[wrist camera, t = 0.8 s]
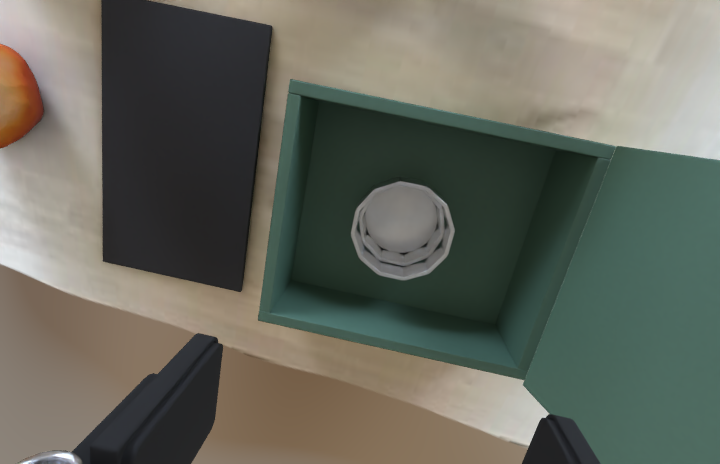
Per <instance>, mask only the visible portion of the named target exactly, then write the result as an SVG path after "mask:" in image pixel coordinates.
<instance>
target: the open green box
mask: <svg viewBox="0 0 720 464" xmlns="http://www.w3.org/2000/svg"><path fill="white" fill-rule="evenodd" d="M288 92H289V94H288V98H287V106H286V113H285V121H284V128H283V136H282V143H281V151H280V158H279V166H278V173H277V181H276V188H275V196H274V203H273V211H272V218H271V226H270V234H269V241H268V249H267V256H266V264H265V271H264V279H263V286H262V294H261V301H260V309H259V310H260V311H259V315H258V320H259V321H263V322H268V323H272V324H276V325H281V326H285V327H290V328H294V329H299V330H303V331H308V332H312V333H317V334H321V335H326V336H330V337H334V338H339V339H343V340H348V341H352V342H357V343H361V344H366V345H370V346H375V347H379V348H383V349H388V350H392V351H397V352H401V353H406V354H410V355H415V356H419V357H424V358H428V359H432V360H437V361H441V362H446V363H450V364H455V365H459V366H464V367H468V368H473V369H477V370H482V371H486V372H490V373H495V374H499V375H504V376H508V377H513V378H517V379H522V380H525V378H526V375H527V373H528V370H529V368H530V365H531V363H532V360H533V357H534V355H535V352H536V350H537V347H538V345H539V342H540V340H541V337H542V335H543V332H544V329H545V327H546V324H547V322H548V319H549V317H550V314H551V312H552V309H553V307H554V304H555V302H556V299H557V296H558V294H559V291H560V289H561V286H562V284H563V281H564V279H565V276H566V274H567V271H568V268H569V266H570V263H571V261H572V258H573V256H574V253H575V251H576V248H577V246H578V243H579V240H580V238H581V235H582V233H583V230H584V228H585V225H586V223H587V220H588V218H589V215H590V212H591V210H592V207H593V205H594V202H595V200H596V197H597V195H598V192H599V190H600V187H601V184H602V182H603V179H604V177H605V174H606V172H607V169H608V167H609V164H610V162H611V160H610V159H611V158H612V156H613V153H614V151H615V148H616V146H612V145H608V144H603V143H598V142H593V141H588V140H583V139H578V138H574V137H569V136H564V135H559V134H554V133H549V132H545V131H540V130H535V129H530V128H525V127H520V126H515V125H511V124H506V123H501V122H496V121H491V120H486V119H482V118H477V117H472V116H467V115H462V114H457V113H452V112H448V111H443V110H438V109H433V108H428V107H423V106H419V105H414V104H409V103H404V102H399V101H394V100H389V99H385V98H380V97H375V96H370V95H365V94H360V93H356V92H351V91H346V90H341V89H336V88H331V87H326V86H322V85H317V84H312V83H307V82H302V81H297V80H293V79H290V83H289V91H288ZM400 176H401V177H406V178H411V179H416V180H420V181H424V182H426V183H427V184H428V185H429V186H430V187H431V188H433V189H434V190H435V191H436V192H437V193H438V194H439V195H440V196H441V197H442V198H443V199H444V200H445V202H446V203H447V205H448V207H449V211H450V214H451V218H452V221H453V225H454V228H455V230H454V231H455V233H454V236H453V240H452V243H451V247H450V250H449V254H448V255H447V257H446V258H445V259H444V260H443V261H442V262H441V263H440V264H439V265H438V266H437V267H436V268H435V269H434V270H433V271H432V272H431V273H429V274H427V275H423V276H419V277H416V278H412V279H409V280H405V281H404V280H403V281H402V280H398V279H393V278H389V277H384V276H380V275H378V274H376V273H375V272H374V271H373V270H372V269H371V268H369V267H368V266H367V265H366V264H365V263H364V262H362V261H361V260H360V258H359V257H358V254H357V252H356V249H355V246H354V243H353V240H352V238H351V230H352V225H353V220H354V215H355V210H356V208H357V205H358V203H359V201H360V200H361V199H362V198H363V197H364V196H365V195H366V194H367V193H368V192H369V190H370V189H371V188H372V187H373V186H374V185H376V184H377V183H380V182H383V181H386V180H389V179H392V178H395V177H400ZM445 224H446V221H445V217H444V225H445ZM358 228H359V231H360V226H359V223H358ZM367 232H368V231H367ZM440 242H441V241H440ZM439 244H440V243H439ZM439 244H438V245H439ZM365 247H366V246H365ZM366 248H367V247H366Z"/></svg>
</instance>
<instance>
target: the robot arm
mask: <svg viewBox="0 0 720 464" xmlns="http://www.w3.org/2000/svg"><path fill="white" fill-rule="evenodd" d="M222 351H223V345H222V344H220V343H218V339H217V338H216V337H213V336H208V335H204V334H200V333H198V334H196V335H194V337H193V338H192V339H191V340H190V341H189V342H188V343H187V344H186V345H185V346H184V347H183V348H182V349H181V350H180V351H179V352H178V354H177V355H175V356H174V358H173V359H172V360H171V361H170V362H169V363H168V364H167V365H166V366H165V367H164V368H163V369H162V370H161V371H160V372H159V373H158V374H154V373H153V374H150V375H148V376H147V377H146V378H145V379H143V381H141V383H140V384H139V385H138V386H137V387H136V388H135V389H134V390H133V391H132V392H131V393H130V394H129V395H128V396H127V397H126V398H125V399H124V400H123V401H122V402H121V403H120V404H119V405H118V406H117V407H116V408H115V409H114V410H113V411H112V412H111V413H110V414H109V415H108V416H107V417H106V418H105V419H104V420H103V421H102V422H101V423H100V424H99V425H98V426H97V427H96V428H95V429H94V430H93V431H92V432H91V433H90V434H89V435H88V436H87V437H86V438H85V439H84V440H83V441H82V442H81V443H80V444H79V445H78V446H77V447H76V448H75V449H74V450H73V451H72V452H68V451H61V450H53V451H47V452H42V453H38V454H36V455H33V456H30V457H28V458H25V459H23V460H22V461H20V462H18V463H17V464H191V463H192V461H193V459H194V458H195V456H196V454H197V453H198V451H199V449H200V448H201V446H202V444H203V442H204V441H205V439H206V438H207V436H208V434H209V433H210V431H211V429H212V426H213V423H214V420H215V414H216V404H217V396H218V387H219V378H220V368H221V360H222ZM522 464H601V463H600V462H599V460H598V458H597V457H596V455H595V454H594V452H593V450H592V449H591V447H590V446H589V444H588V442H587V441H586V439H585V437H584V436H583V434H582V433H581V431H580V429H579V428H578V426H577V424H576V423H575V422H574V420H572V419H571V418H566V417H562V416H558V415H553V414H549V415H548V416H547V417H546V418H542V419H541V420H540V422H539V424H538V426H537V429H536V431H535V434H534V436H533V438H532V441H531V443H530V446H529V448H528V450H527V453H526V455H525V457H524V460H523V462H522Z"/></svg>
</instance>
